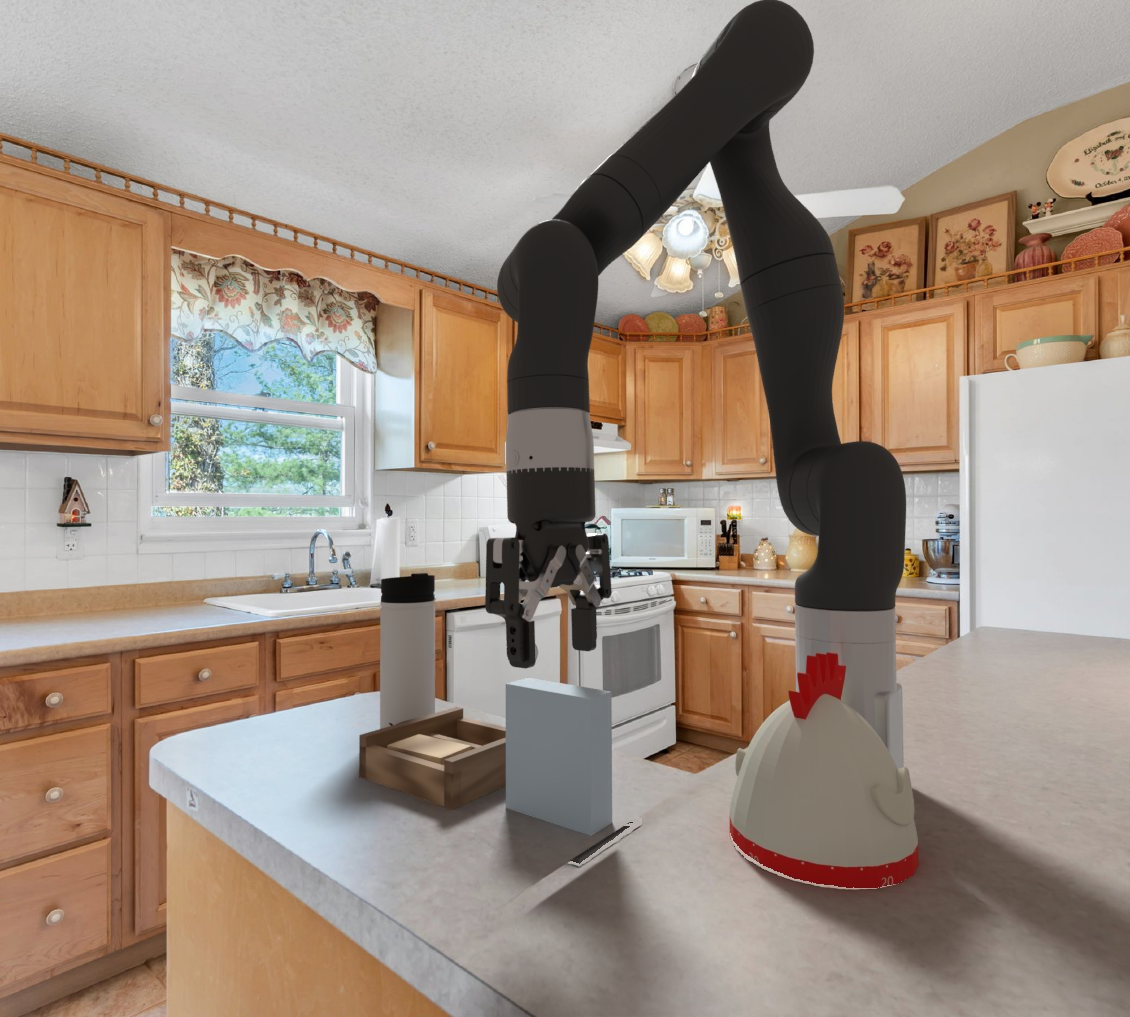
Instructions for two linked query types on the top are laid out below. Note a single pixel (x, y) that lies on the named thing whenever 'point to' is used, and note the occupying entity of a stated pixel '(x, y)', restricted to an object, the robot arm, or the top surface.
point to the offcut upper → (429, 748)
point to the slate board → (559, 753)
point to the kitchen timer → (824, 791)
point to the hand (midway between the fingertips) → (555, 658)
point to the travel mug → (407, 648)
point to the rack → (430, 780)
